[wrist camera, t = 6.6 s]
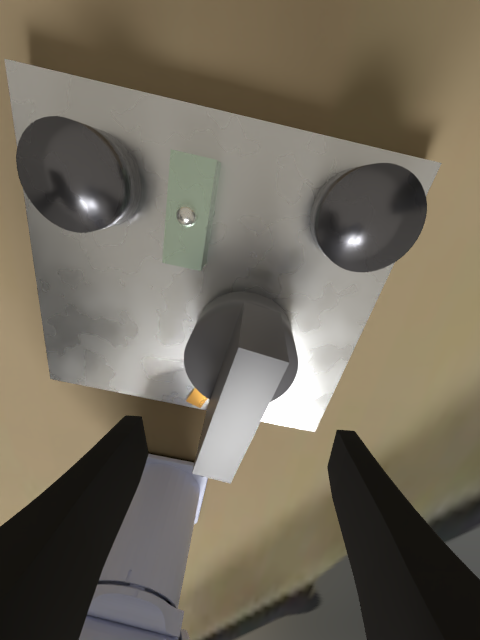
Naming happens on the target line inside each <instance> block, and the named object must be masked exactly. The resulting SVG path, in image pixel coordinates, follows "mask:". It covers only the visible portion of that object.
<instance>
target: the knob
mask: <svg viewBox="0 0 480 640" xmlns="http://www.w3.org/2000/svg"><path fill="white" fill-rule="evenodd" d="M184 367H185V371H186V374H187V376H188V378H189V380H190V381H191V383H192V384H193V386H194V387H195V388H196V389H197V390H198V391H199V392H200V393H201V394H202V395H204V396H205V397H206V398H208V399H210V402H209V404H208V407H207V411H206V416H205V420H204V424H203V428H202V433H201V437H200V441H199V445H198V450H197V454H196V458H195V462H194V467H193V471H192V474H196V475H200V476H204V477H207V478H211V479H215V480H219V481H223V482H227V483H231V481H232V479H233V477H234V475H235V473H236V471H237V469H238V467H239V465H240V463H241V461H242V459H243V457H244V455H245V453H246V451H247V449H248V447H249V445H250V443H251V440H252V438H253V436H254V434H255V432H256V430H257V428H258V426H259V424H260V422H261V420H262V418H263V416H264V414H265V412H266V410H267V408H268V406H269V404H270V403H271V402H273V401H275V400H276V399H278V398H279V397H281V396H282V395H283V394H284V393H285V392H286V391H287V390H288V389H289V388H290V387H291V385H292V384H293V382H294V380H295V378H296V375H297V371H298V355H297V350H296V346H295V342H294V337H293V333H292V329H291V324H290V321H289V319H288V317H287V315H286V313H285V312H284V311H283V310H282V308H281V307H280V306H279V305H278V304H277V303H275V302H274V301H273V300H271V299H269V298H267V297H266V296H263V295H261V294H257V293H253V292H246V291H239V292H232V293H228V294H224V295H222V296H220V297H218V298H216V299H214V300H213V301H212V302H210V303H209V304H208V305H207V306H206V307H205V308H204V310H203V311H202V312H201V314H200V316H199V318H198V320H197V322H196V324H195V327H194V329H193V331H192V333H191V335H190V337H189V340H188V342H187V344H186V347H185V351H184Z"/></svg>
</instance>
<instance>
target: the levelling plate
mask: <svg viewBox="0 0 480 640" xmlns="http://www.w3.org/2000/svg"><path fill="white" fill-rule="evenodd" d="M5 66H6V73H7V80H8V87H9V94H10V101H11V108H12V115H13V122H14V129H15V136H16V143H17V154H16V162H17V170H18V175H19V178H20V181H21V184H22V186H23V191H24V198H25V205H26V212H27V219H28V226H29V233H30V240H31V247H32V254H33V261H34V268H35V275H36V282H37V289H38V296H39V303H40V310H41V317H42V324H43V331H44V338H45V345H46V352H47V359H48V365H49V372H50V379H53V380H58V381H63V382H68V383H73V384H78V385H83V386H88V387H93V388H98V389H103V390H108V391H113V392H118V393H123V394H128V395H133V396H138V397H143V398H148V399H153V400H158V401H163V402H168V403H173V404H178V405H183V406H188V407H193V408H198V409H203V410H207V407H208V404H209V402H210V399H208V398H206V397H205V396H204V395H202V394H201V393H200V392H199V391H198V390H197V389H196V388H195V387H194V386H193V384H192V383H191V381H190V380H189V378H188V376H187V374H186V371H185V367H184V351H185V347H186V344H187V342H188V340H189V337H190V335H191V333H192V331H193V329H194V327H195V324H196V322H197V320H198V318H199V316H200V314H201V312H202V311H203V310H204V308H205V307H206V306H207V305H208V304H209V303H210V302H212V301H213V300H214V299H216V298H218V297H220V296H222V295H224V294H228V293H232V292H239V291H246V292H253V293H257V294H261V295H263V296H266V297H267V298H269V299H271V300H273V301H274V302H275V303H277V304H278V305H279V306H280V307H281V308H282V310H283V311H284V312H285V313H286V315H287V317H288V319H289V321H290V324H291V329H292V333H293V337H294V342H295V346H296V350H297V355H298V371H297V375H296V378H295V380H294V382H293V384H292V385H291V387H290V388H289V389H288V390H287V391H286V392H285V393H284V394H283V395H282V396H281V397H279V398H278V399H276V400H275V401H273V402H271V403H270V404H269V406H268V408H267V410H266V412H265V414H264V416H263V418H262V420H261V421H262V422H267V423H272V424H277V425H282V426H287V427H292V428H297V429H302V430H307V431H312V432H315V430H316V428H317V426H318V424H319V422H320V420H321V418H322V416H323V413H324V411H325V409H326V407H327V405H328V403H329V401H330V399H331V396H332V394H333V392H334V390H335V388H336V386H337V384H338V382H339V380H340V377H341V375H342V373H343V371H344V369H345V367H346V365H347V363H348V360H349V358H350V356H351V354H352V352H353V350H354V348H355V346H356V343H357V341H358V339H359V337H360V335H361V333H362V331H363V329H364V326H365V324H366V322H367V320H368V318H369V316H370V314H371V312H372V310H373V307H374V305H375V303H376V301H377V299H378V297H379V295H380V293H381V290H382V288H383V286H384V284H385V282H386V280H387V278H388V276H389V273H390V271H391V269H392V267H393V265H394V263H395V262H396V261H397V260H398V259H400V258H401V257H402V256H403V255H405V254H406V253H407V252H408V251H409V249H410V248H411V247H412V246H413V245H414V243H415V242H416V240H417V239H418V237H419V235H420V233H421V231H422V228H423V226H424V222H425V219H426V212H427V202H426V195H427V193H428V191H429V189H430V187H431V184H432V182H433V180H434V178H435V176H436V174H437V172H438V170H439V167H440V165H441V163H439V162H435V161H431V160H426V159H422V158H418V157H414V156H410V155H405V154H401V153H397V152H393V151H389V150H385V149H380V148H376V147H372V146H368V145H364V144H359V143H355V142H351V141H347V140H343V139H339V138H334V137H330V136H326V135H322V134H318V133H313V132H309V131H305V130H301V129H297V128H293V127H288V126H284V125H280V124H276V123H272V122H267V121H263V120H259V119H255V118H251V117H247V116H242V115H238V114H234V113H230V112H226V111H221V110H217V109H213V108H209V107H205V106H201V105H196V104H192V103H188V102H184V101H180V100H175V99H171V98H167V97H163V96H159V95H155V94H150V93H146V92H142V91H138V90H134V89H129V88H125V87H121V86H117V85H113V84H109V83H104V82H100V81H96V80H92V79H88V78H83V77H79V76H75V75H71V74H67V73H63V72H58V71H54V70H50V69H46V68H42V67H37V66H33V65H29V64H25V63H21V62H16V61H12V60H8V59H5Z"/></svg>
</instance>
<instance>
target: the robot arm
mask: <svg viewBox="0 0 480 640" xmlns="http://www.w3.org/2000/svg"><path fill="white" fill-rule="evenodd" d="M193 467H194V462H189V461H184V460H178V459H173V458H168V457H163V456H158V455H153V454H149V453H148V448H147V442H146V437H145V432H144V426H143V421H142V417H141V416H125V417H123V418H122V419H121V420H120V421H119V422H118V423H117V424H116V425H115V426H114V427H113V428H112V429H111V430H110V431H109V432H108V433H107V434H106V435H105V436H104V437H103V438H102V439H101V440H100V441H99V442H98V443H97V444H96V445H95V446H94V447H93V448H92V449H91V450H89V451H88V452H87V453H86V454H85V455H84V456H83V457H82V458H81V459H80V460H79V461H78V462H77V463H76V464H75V465H73V466H72V467H71V468H70V469H69V470H68V471H67V472H66V473H65V474H63V475H62V476H61V477H60V478H59V479H58V480H57V481H55V482H54V483H53V484H52V485H51V486H50V487H49V488H47V489H46V490H45V491H44V492H43V493H42V494H40V495H39V496H38V497H37V498H36V499H34V500H33V501H32V502H31V503H30V504H28V505H27V506H26V507H25V508H23V509H22V510H21V511H20V512H18V513H17V514H16V515H15V516H13V517H12V518H11V519H9V520H8V521H7V522H6V523H4V524H3V525H2V526H0V640H190V638H189V635H188V632H187V631H186V630H184V629H181V626H182V620H183V615H184V611H183V610H180V609H178V604H179V599H180V594H181V589H182V583H183V578H184V573H185V568H186V563H187V558H188V552H189V547H190V542H191V537H192V532H193V527H194V524H196V523H197V521H198V517H199V513H200V508H201V504H202V500H203V496H204V492H205V488H206V484H207V480H208V478H207V477H204V476H200V475H196V474H192V471H193ZM328 474H329V480H330V486H331V492H332V498H333V502H334V506H335V509H336V513H337V517H338V521H339V524H340V528H341V532H342V535H343V539H344V543H345V546H346V550H347V554H348V557H349V560H350V564H351V568H352V572H353V575H354V580H355V584H356V588H357V592H358V596H359V601H360V606H361V612H362V617H363V622H364V627H365V632H366V637H367V640H480V579H479V578H478V577H477V576H476V575H475V574H473V572H472V571H470V569H469V568H468V567H467V566H466V565H465V564H464V563H463V562H462V561H461V560H460V559H459V558H458V557H457V556H456V555H455V554H454V553H453V551H451V549H450V548H449V547H448V546H447V545H446V544H445V543H444V542H443V541H442V539H441V538H440V537H439V536H438V535H437V534H436V533H435V532H434V531H433V529H432V528H431V527H430V526H429V525H428V524H427V523H426V521H425V520H424V519H423V518H422V517H421V516H420V514H419V513H418V512H417V511H416V510H415V509H414V507H413V506H412V505H411V504H410V503H409V501H408V500H407V499H406V498H405V496H404V495H403V494H402V493H401V491H400V490H399V489H398V488H397V486H396V485H395V484H394V483H393V481H392V480H391V479H390V478H389V476H388V475H387V474H386V473H385V471H384V470H383V469H382V467H381V466H380V465H379V463H378V462H377V461H376V459H375V458H374V457H373V455H372V454H371V453H370V451H369V450H368V449H367V447H366V446H365V444H364V443H363V442H362V440H361V439H360V438H359V436H358V435H357V434H356V432H355V431H347V430H337V432H336V436H335V440H334V443H333V447H332V451H331V455H330V459H329V463H328Z"/></svg>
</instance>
